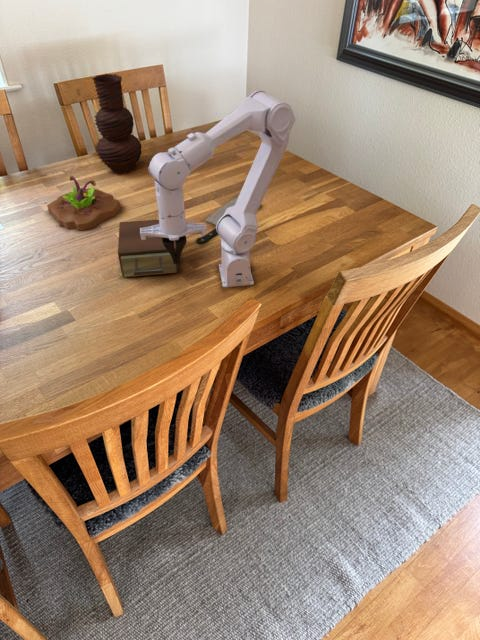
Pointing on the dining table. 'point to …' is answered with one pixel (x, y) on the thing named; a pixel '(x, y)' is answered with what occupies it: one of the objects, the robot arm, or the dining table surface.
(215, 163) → the dining table surface
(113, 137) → the vase
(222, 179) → the dining table surface
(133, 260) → the drawer
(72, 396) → the dining table surface
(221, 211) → the cleaver
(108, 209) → the plant
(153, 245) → the cabinet
